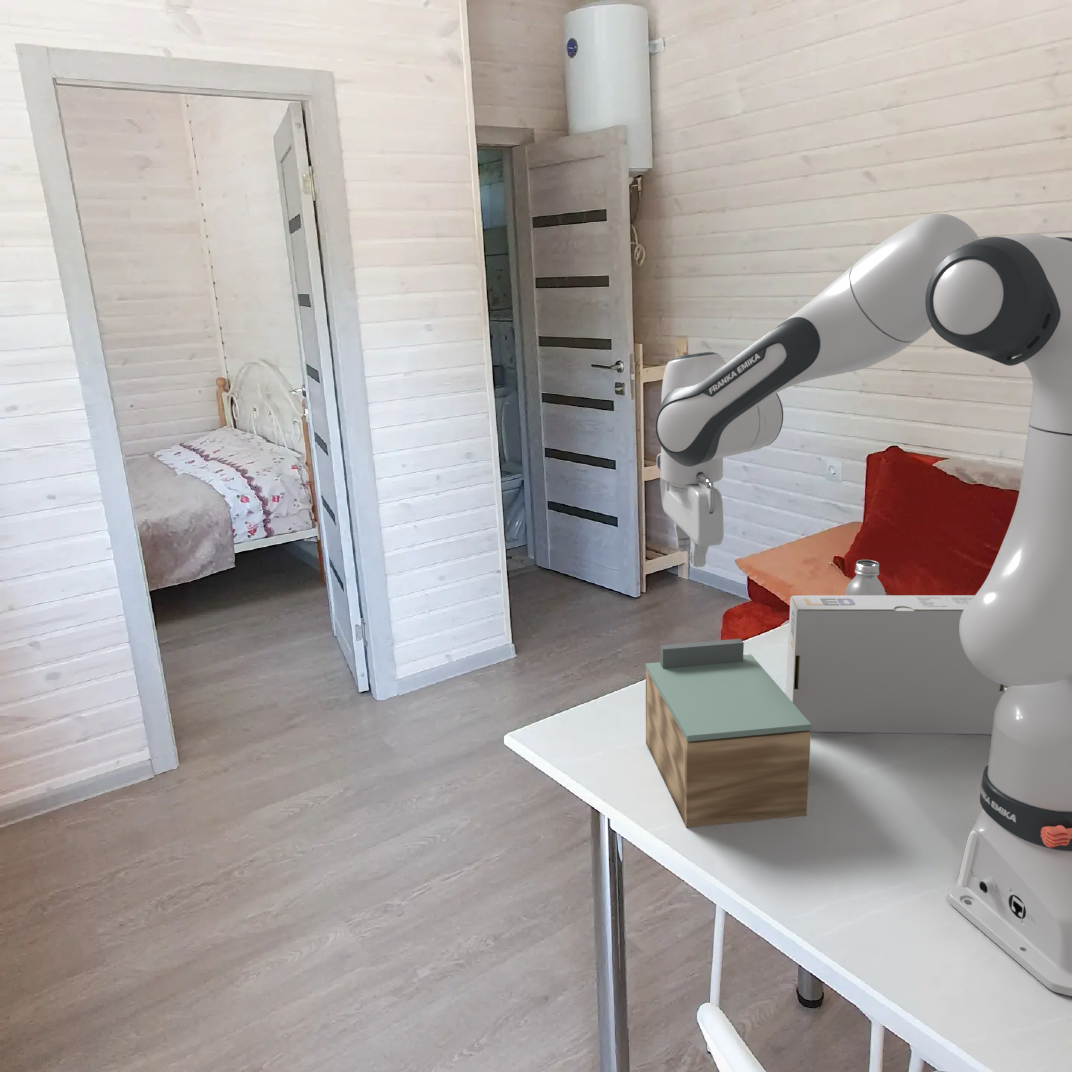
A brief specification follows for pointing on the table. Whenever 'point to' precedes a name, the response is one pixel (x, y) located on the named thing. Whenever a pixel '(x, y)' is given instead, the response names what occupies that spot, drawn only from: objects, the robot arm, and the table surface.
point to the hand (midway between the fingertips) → (690, 557)
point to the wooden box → (728, 770)
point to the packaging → (886, 665)
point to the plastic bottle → (865, 579)
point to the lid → (721, 692)
